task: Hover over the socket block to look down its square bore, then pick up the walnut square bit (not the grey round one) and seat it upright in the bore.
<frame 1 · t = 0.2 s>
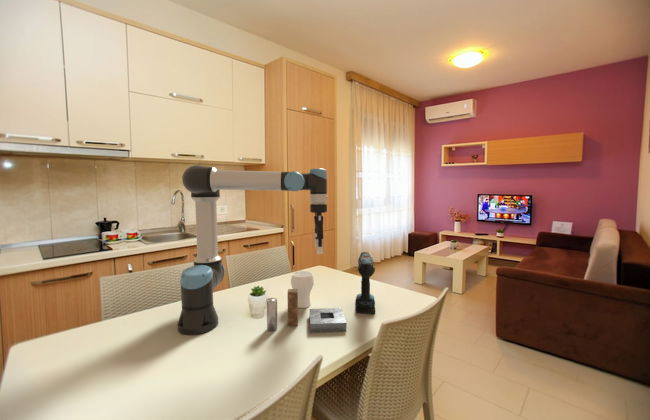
hand: (318, 250, 134), 27 cm above the table, fingers open, 13 cm apart
round bit: (272, 329, 117), on the table
power drill: (364, 307, 138), on the table
square bit: (292, 323, 122), on the table
socket block: (327, 323, 122), on the table
cup: (302, 305, 141), on the table
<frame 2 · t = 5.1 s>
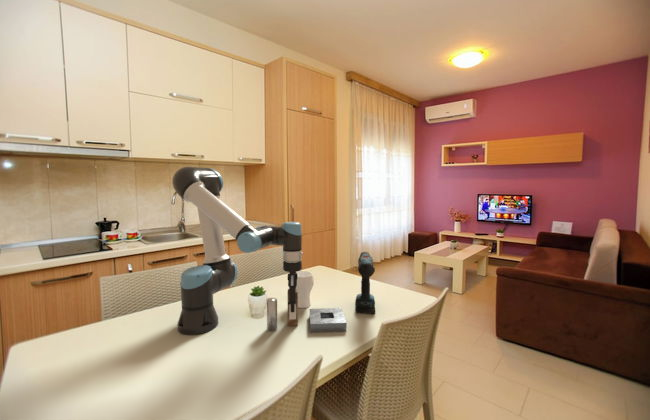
hand: (292, 316, 122), 3 cm above the table, fingers closed on square bit, 4 cm apart
square bit: (292, 323, 122), on the table, touching gripper
everything else where it was.
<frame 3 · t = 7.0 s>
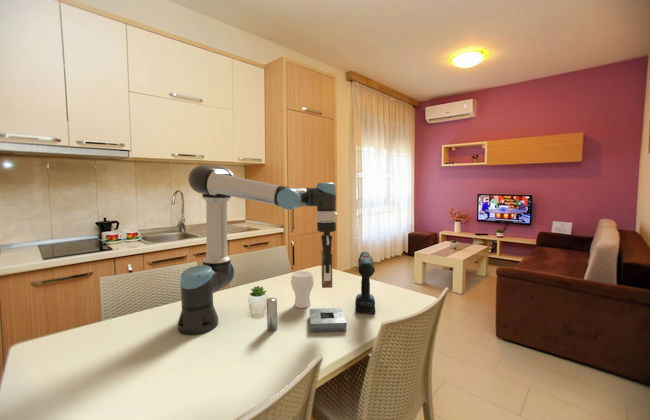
hand: (326, 278, 120), 19 cm above the table, fingers closed on square bit, 4 cm apart
square bit: (326, 286, 121), point 16 cm above the table, touching gripper
everything else where it was.
when the fingers open (5 cm above the table, at t = 9.2 s): square bit drops 2 cm, resting in socket block.
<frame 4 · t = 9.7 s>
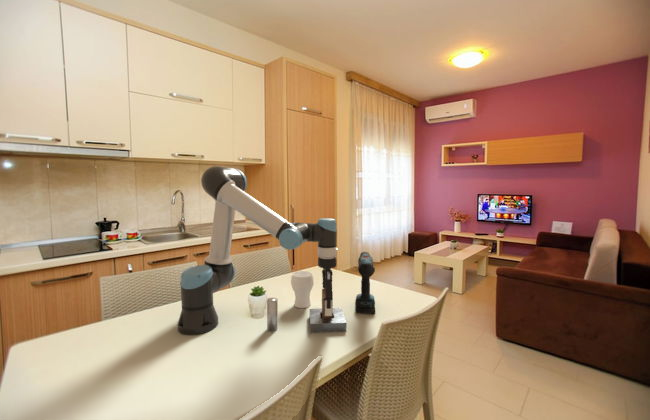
hand: (327, 309, 122), 6 cm above the table, fingers open, 11 cm apart
square bit: (327, 323, 122), resting in socket block
everything else where it was.
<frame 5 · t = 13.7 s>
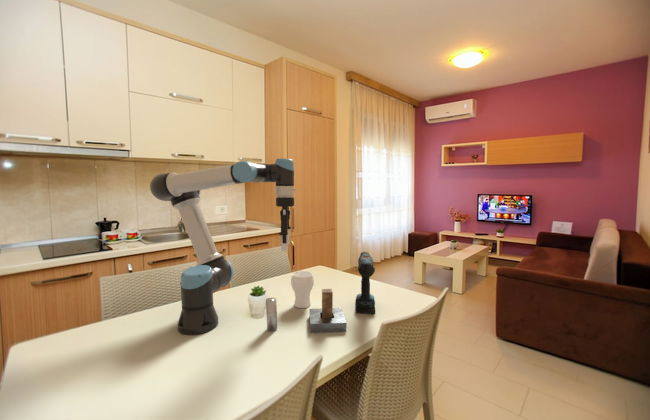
hand: (285, 247, 124), 31 cm above the table, fingers open, 13 cm apart
nothing on the table moved.
at the end: square bit 0.0 cm off-centre on the socket block, point 0.0 cm above the socket block's base; square bit tilted 0°; round bit moved 0.0 cm from its start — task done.
